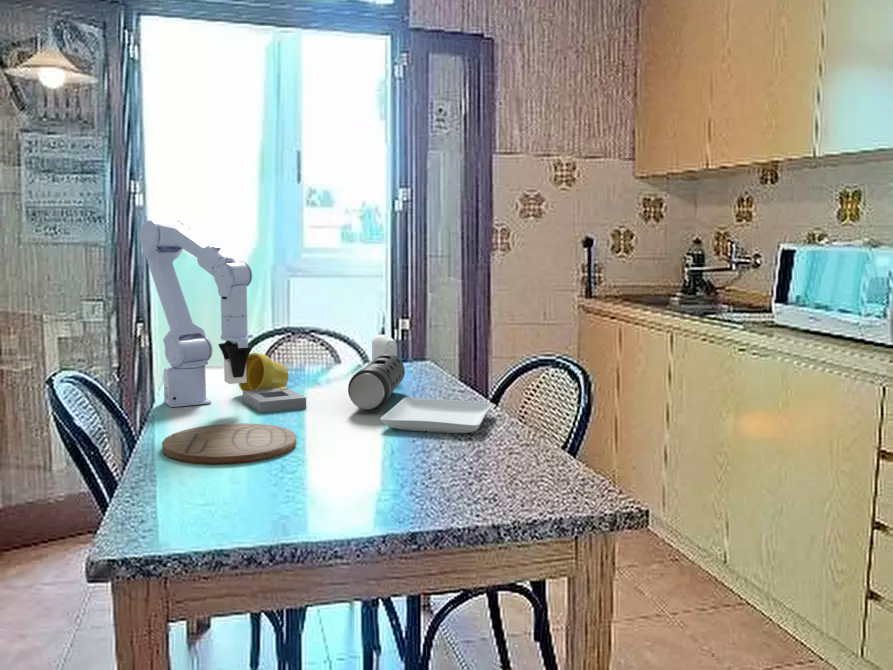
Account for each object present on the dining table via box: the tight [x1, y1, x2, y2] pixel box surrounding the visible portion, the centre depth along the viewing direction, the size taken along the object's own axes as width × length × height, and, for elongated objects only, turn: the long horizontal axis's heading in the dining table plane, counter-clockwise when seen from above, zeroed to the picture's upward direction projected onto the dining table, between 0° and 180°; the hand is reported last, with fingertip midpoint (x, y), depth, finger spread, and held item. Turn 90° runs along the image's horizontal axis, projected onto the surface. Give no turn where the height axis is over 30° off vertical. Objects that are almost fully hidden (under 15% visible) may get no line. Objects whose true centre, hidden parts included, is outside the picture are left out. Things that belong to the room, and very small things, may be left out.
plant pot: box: [237, 352, 289, 392], centre depth 209 cm, size 10×10×10 cm
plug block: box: [223, 358, 247, 385], centre depth 188 cm, size 4×4×5 cm
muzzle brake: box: [347, 354, 406, 411], centre depth 199 cm, size 10×28×10 cm, turn 174°
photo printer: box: [371, 334, 398, 365], centre depth 231 cm, size 10×4×12 cm, turn 28°
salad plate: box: [380, 397, 494, 434], centre depth 180 cm, size 21×21×3 cm
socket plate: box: [242, 386, 307, 414], centre depth 196 cm, size 11×14×3 cm
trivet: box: [161, 422, 297, 466], centre depth 159 cm, size 25×25×2 cm
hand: (235, 375), depth 188 cm, fingers closed on plug block, 4 cm apart
